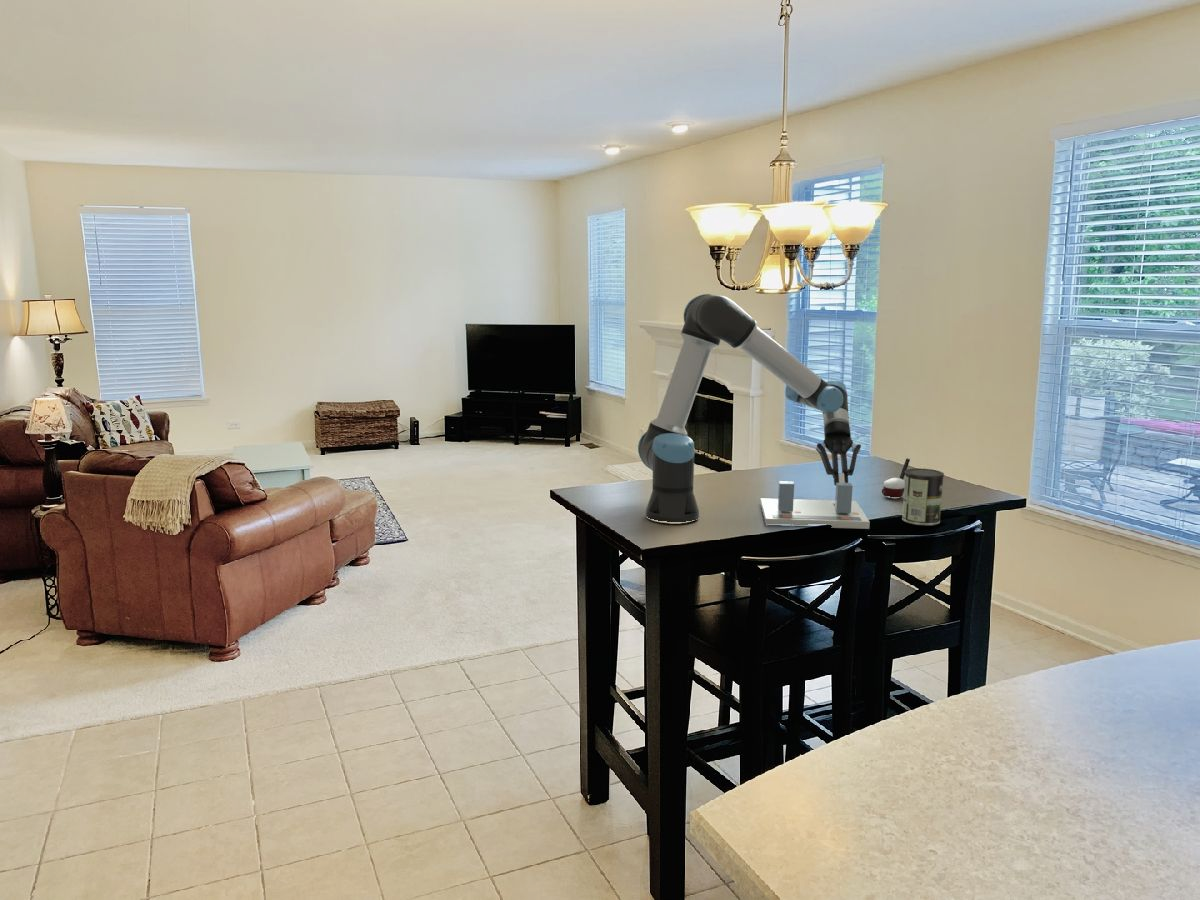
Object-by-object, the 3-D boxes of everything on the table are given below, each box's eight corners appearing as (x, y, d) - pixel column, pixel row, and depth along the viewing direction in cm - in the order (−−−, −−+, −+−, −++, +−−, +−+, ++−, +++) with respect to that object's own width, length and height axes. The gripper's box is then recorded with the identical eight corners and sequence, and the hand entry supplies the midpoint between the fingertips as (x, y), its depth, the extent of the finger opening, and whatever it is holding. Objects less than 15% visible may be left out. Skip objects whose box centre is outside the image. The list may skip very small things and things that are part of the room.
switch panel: (765, 525, 241) (765, 518, 241) (760, 504, 263) (760, 497, 262) (869, 528, 238) (869, 521, 238) (855, 507, 260) (855, 500, 259)
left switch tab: (778, 510, 247) (779, 483, 245) (777, 508, 250) (778, 481, 248) (792, 511, 246) (794, 484, 245) (791, 508, 249) (793, 481, 247)
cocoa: (883, 501, 268) (884, 464, 265) (876, 495, 274) (877, 458, 271) (913, 500, 268) (915, 462, 265) (906, 494, 274) (908, 457, 271)
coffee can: (936, 516, 250) (940, 468, 247) (943, 526, 240) (947, 477, 237) (899, 514, 252) (902, 467, 249) (904, 524, 242) (907, 475, 239)
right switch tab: (836, 512, 245) (837, 485, 243) (834, 509, 248) (836, 482, 246) (850, 513, 244) (852, 485, 243) (849, 510, 247) (850, 483, 246)
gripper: (857, 434, 263) (863, 501, 250) (813, 433, 265) (817, 500, 252) (861, 419, 257) (867, 488, 244) (816, 419, 258) (820, 487, 246)
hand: (842, 494), depth 248 cm, fingers closed
